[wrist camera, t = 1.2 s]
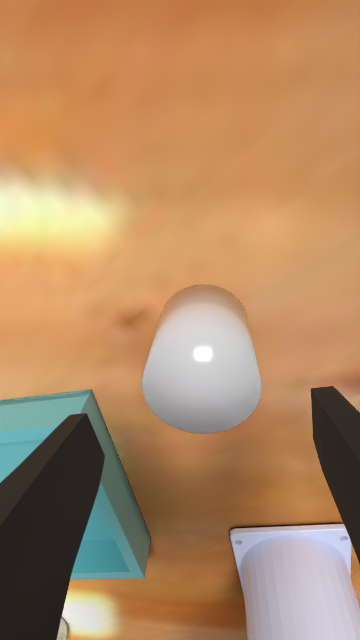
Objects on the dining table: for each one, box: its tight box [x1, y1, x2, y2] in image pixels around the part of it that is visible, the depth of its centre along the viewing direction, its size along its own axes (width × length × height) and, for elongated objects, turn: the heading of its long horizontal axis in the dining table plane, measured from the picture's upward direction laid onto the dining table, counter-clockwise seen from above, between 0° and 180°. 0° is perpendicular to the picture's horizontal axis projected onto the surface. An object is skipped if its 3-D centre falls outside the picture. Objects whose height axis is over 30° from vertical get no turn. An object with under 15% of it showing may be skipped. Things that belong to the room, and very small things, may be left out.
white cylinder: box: [142, 285, 262, 434], centre depth 15 cm, size 4×4×5 cm
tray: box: [0, 390, 151, 580], centre depth 22 cm, size 14×14×3 cm
